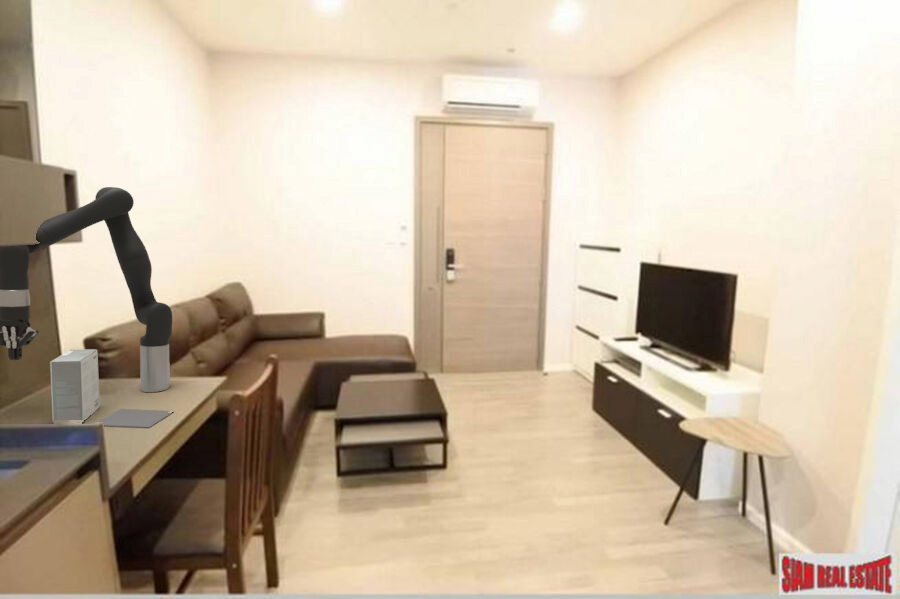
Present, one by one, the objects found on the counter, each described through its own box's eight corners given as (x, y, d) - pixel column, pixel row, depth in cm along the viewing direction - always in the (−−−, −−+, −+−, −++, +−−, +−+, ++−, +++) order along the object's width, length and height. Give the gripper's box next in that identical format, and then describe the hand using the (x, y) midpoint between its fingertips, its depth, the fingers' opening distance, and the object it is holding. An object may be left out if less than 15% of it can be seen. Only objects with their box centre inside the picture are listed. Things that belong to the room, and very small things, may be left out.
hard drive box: (72, 408, 153) (70, 349, 151) (100, 407, 156) (99, 348, 154) (51, 426, 139) (49, 360, 137) (82, 424, 141) (81, 360, 139)
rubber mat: (121, 409, 155) (121, 408, 155) (174, 412, 156) (174, 410, 156) (91, 425, 141) (91, 424, 141) (149, 428, 142) (149, 426, 142)
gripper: (46, 303, 147) (47, 358, 148) (1, 301, 146) (3, 355, 148) (25, 306, 139) (27, 363, 141) (-21, 304, 139) (-19, 361, 140)
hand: (15, 359), depth 144 cm, fingers closed
